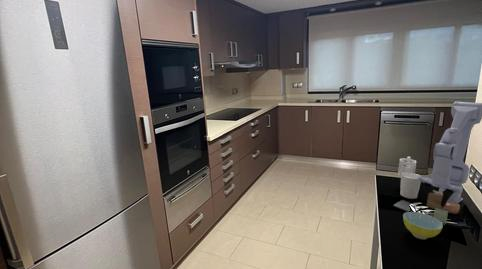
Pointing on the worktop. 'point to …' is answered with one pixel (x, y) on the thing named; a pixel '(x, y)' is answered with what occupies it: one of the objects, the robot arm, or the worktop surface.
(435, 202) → the walnut block
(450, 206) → the brown rounded disc
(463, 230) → the worktop surface
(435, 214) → the sage cube
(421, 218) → the bowl
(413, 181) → the white cup
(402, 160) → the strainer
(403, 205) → the plate
